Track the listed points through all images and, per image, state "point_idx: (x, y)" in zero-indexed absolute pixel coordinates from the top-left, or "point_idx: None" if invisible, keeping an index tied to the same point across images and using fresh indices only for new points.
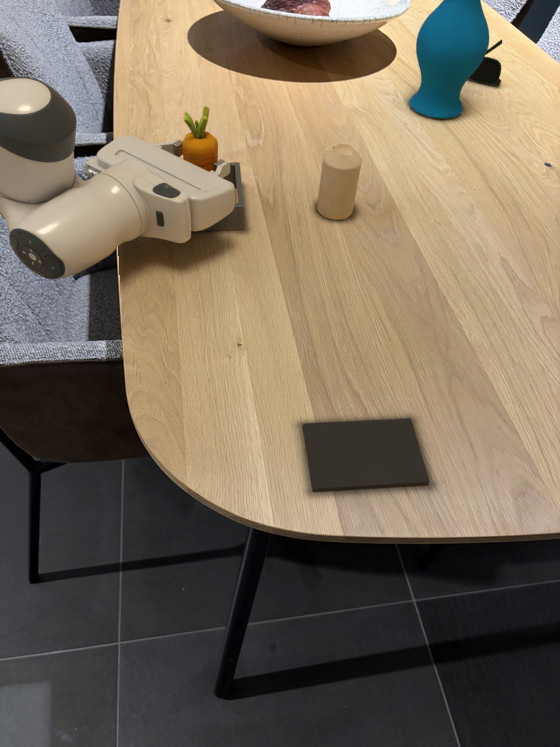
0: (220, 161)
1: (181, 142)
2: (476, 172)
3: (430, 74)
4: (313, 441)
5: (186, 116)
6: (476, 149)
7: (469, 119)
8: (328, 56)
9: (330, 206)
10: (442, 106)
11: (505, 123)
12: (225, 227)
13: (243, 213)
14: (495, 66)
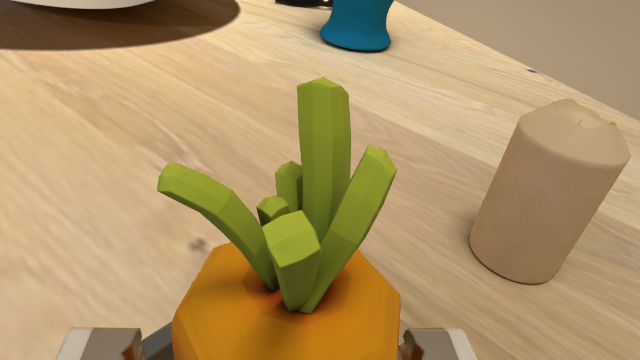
0: (432, 348)
1: (118, 345)
2: (510, 99)
3: None
4: None
5: (290, 215)
6: (461, 73)
7: (400, 44)
8: (152, 9)
9: (557, 257)
10: (379, 33)
11: (432, 41)
12: None
13: None
14: None
